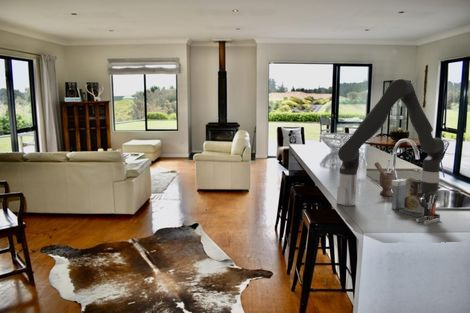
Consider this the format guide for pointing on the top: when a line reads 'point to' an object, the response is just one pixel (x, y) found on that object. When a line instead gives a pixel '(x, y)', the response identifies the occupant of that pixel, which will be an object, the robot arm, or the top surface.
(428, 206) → the robot arm
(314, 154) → the top surface
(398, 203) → the press
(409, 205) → the coffee box
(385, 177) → the mortar and pestle
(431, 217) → the lever
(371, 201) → the top surface
